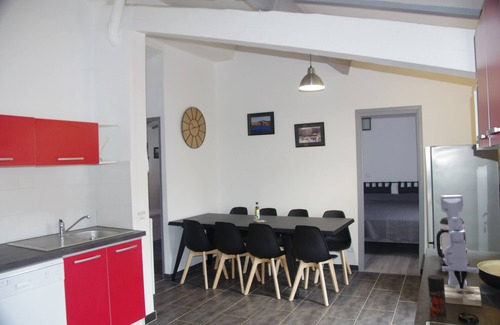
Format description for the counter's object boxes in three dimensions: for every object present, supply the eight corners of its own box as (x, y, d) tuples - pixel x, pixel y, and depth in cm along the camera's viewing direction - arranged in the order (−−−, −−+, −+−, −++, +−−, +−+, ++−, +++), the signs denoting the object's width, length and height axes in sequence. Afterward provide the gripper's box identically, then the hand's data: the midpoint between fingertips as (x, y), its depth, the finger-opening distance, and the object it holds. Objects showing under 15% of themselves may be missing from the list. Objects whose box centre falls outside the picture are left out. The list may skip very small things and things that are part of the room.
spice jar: (427, 312, 163) (424, 276, 163) (438, 310, 165) (435, 274, 165) (438, 317, 158) (435, 280, 158) (449, 314, 160) (447, 277, 160)
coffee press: (438, 260, 241) (435, 211, 241) (468, 261, 234) (464, 211, 234) (438, 267, 226) (434, 215, 226) (470, 269, 219) (466, 215, 219)
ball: (463, 284, 178) (465, 291, 177) (456, 285, 180) (458, 292, 179) (460, 284, 176) (462, 292, 175) (453, 285, 178) (455, 292, 177)
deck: (438, 289, 190) (438, 284, 190) (479, 292, 182) (479, 287, 182) (437, 301, 174) (436, 296, 174) (481, 306, 166) (481, 300, 166)
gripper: (440, 258, 177) (443, 289, 177) (478, 259, 171) (480, 291, 170) (441, 255, 184) (443, 285, 183) (477, 256, 177) (479, 287, 176)
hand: (461, 288), depth 177 cm, fingers closed, pressing on ball
